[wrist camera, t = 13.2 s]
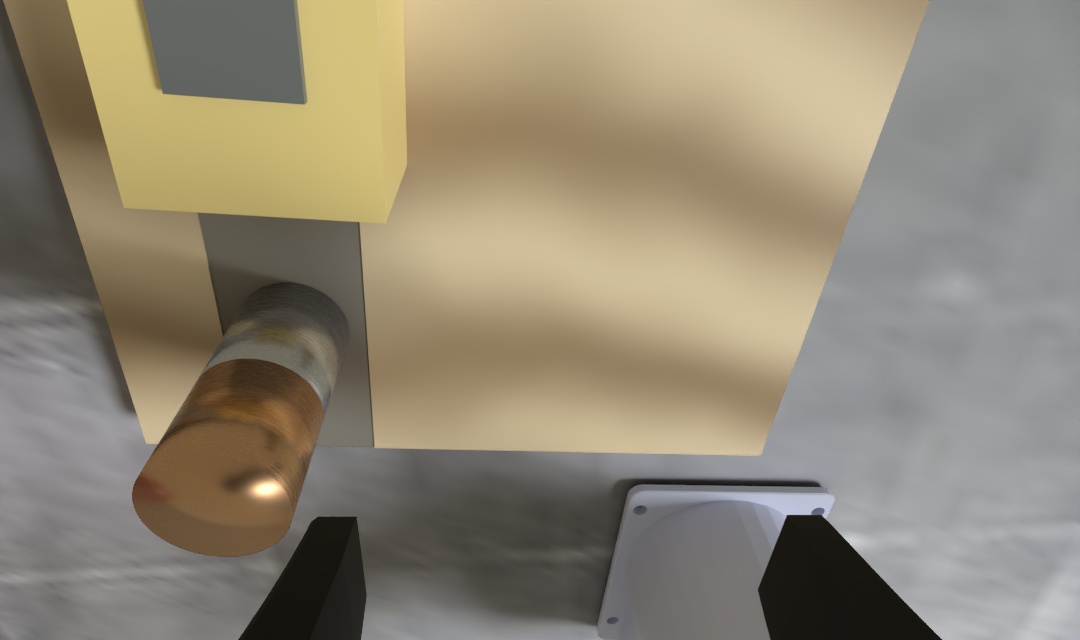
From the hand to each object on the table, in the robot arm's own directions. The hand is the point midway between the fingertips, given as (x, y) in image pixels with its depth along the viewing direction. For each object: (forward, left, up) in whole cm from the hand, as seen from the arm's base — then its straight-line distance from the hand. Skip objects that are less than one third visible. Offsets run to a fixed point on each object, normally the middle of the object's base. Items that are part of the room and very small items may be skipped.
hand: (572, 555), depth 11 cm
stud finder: (+7, +6, -9) cm, 12 cm away
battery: (-1, +7, -9) cm, 11 cm away
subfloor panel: (+4, +2, -10) cm, 11 cm away
